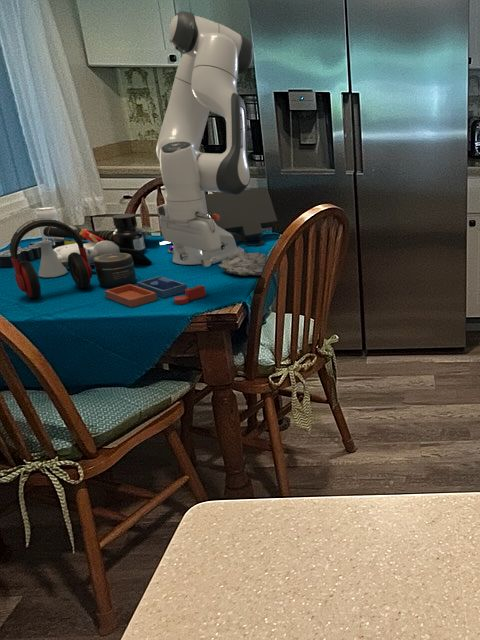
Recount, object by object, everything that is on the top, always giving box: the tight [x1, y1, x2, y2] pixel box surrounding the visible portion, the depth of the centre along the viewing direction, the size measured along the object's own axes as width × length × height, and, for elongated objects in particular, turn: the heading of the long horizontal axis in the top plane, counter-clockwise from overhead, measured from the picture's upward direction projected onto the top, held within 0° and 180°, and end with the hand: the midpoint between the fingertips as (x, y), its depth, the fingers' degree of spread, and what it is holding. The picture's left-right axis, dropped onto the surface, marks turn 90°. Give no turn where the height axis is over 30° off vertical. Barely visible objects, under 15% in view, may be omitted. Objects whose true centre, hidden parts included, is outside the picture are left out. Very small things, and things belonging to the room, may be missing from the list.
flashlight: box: [43, 226, 115, 243], centre depth 218 cm, size 4×5×25 cm
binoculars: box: [53, 241, 96, 260], centre depth 206 cm, size 10×16×5 cm, turn 141°
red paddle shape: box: [173, 284, 207, 305], centre depth 173 cm, size 9×4×3 cm, turn 143°
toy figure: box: [76, 227, 105, 244], centre depth 214 cm, size 2×7×12 cm
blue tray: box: [136, 276, 188, 299], centre depth 180 cm, size 13×7×2 cm, turn 53°
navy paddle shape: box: [150, 277, 174, 290], centre depth 179 cm, size 9×4×3 cm, turn 53°
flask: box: [37, 240, 69, 278], centre depth 191 cm, size 7×7×10 cm
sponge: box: [59, 240, 89, 245], centre depth 216 cm, size 10×9×3 cm
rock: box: [218, 252, 280, 277], centre depth 196 cm, size 17×4×15 cm
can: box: [35, 205, 65, 241], centre depth 226 cm, size 6×6×12 cm
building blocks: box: [167, 245, 173, 254], centre depth 218 cm, size 6×8×2 cm
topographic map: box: [108, 225, 161, 233], centre depth 223 cm, size 19×19×2 cm
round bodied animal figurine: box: [84, 240, 120, 265], centre depth 195 cm, size 7×12×8 cm, turn 138°
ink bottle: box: [112, 213, 146, 253], centre depth 213 cm, size 10×9×12 cm
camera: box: [205, 186, 278, 243], centre depth 229 cm, size 25×16×16 cm, turn 126°
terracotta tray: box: [104, 283, 158, 308], centre depth 173 cm, size 13×7×2 cm, turn 53°
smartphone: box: [119, 248, 153, 265], centre depth 202 cm, size 7×1×15 cm
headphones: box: [9, 218, 93, 299], centre depth 174 cm, size 18×10×20 cm, turn 134°
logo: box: [0, 238, 73, 268], centre depth 209 cm, size 24×3×10 cm
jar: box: [93, 253, 137, 289], centre depth 184 cm, size 10×10×8 cm
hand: (195, 263), depth 171 cm, fingers open, 8 cm apart
